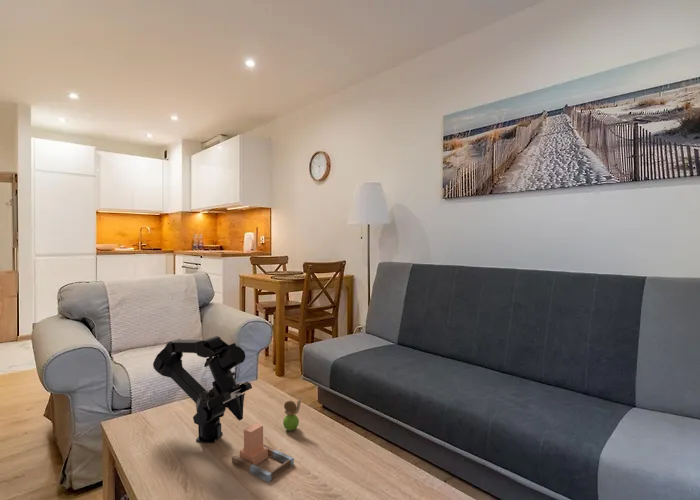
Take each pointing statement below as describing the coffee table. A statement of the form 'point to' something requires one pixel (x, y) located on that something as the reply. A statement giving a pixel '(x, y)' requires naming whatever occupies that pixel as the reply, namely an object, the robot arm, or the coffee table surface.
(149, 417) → the coffee table surface
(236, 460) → the beam slot
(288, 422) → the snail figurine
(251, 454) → the block
